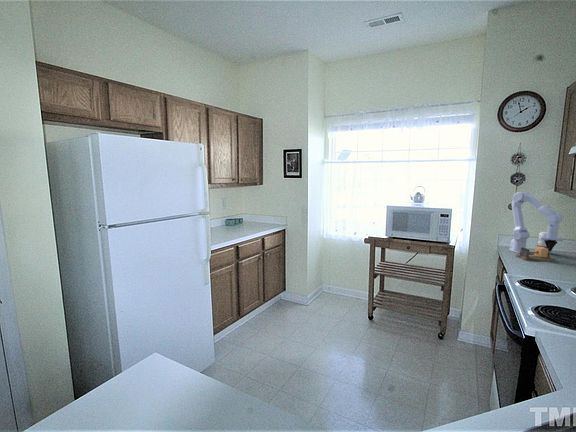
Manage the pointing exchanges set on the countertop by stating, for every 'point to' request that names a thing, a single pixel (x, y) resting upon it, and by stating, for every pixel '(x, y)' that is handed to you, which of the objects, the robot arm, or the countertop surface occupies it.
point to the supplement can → (542, 243)
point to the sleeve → (541, 251)
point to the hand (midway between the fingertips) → (549, 250)
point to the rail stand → (533, 256)
